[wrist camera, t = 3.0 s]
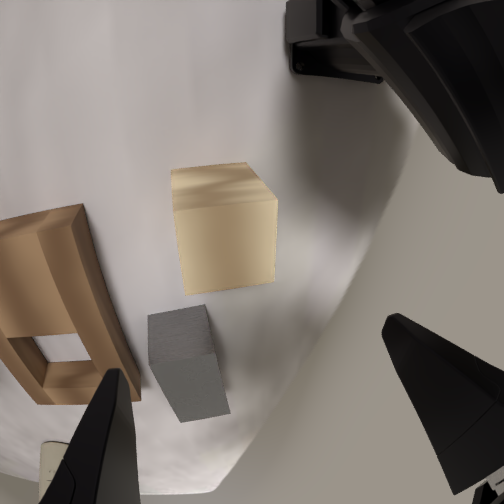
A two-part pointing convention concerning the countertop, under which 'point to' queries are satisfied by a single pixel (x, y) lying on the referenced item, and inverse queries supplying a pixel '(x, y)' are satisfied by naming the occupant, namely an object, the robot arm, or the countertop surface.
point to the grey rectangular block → (186, 363)
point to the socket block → (57, 307)
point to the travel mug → (49, 463)
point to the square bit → (224, 227)
